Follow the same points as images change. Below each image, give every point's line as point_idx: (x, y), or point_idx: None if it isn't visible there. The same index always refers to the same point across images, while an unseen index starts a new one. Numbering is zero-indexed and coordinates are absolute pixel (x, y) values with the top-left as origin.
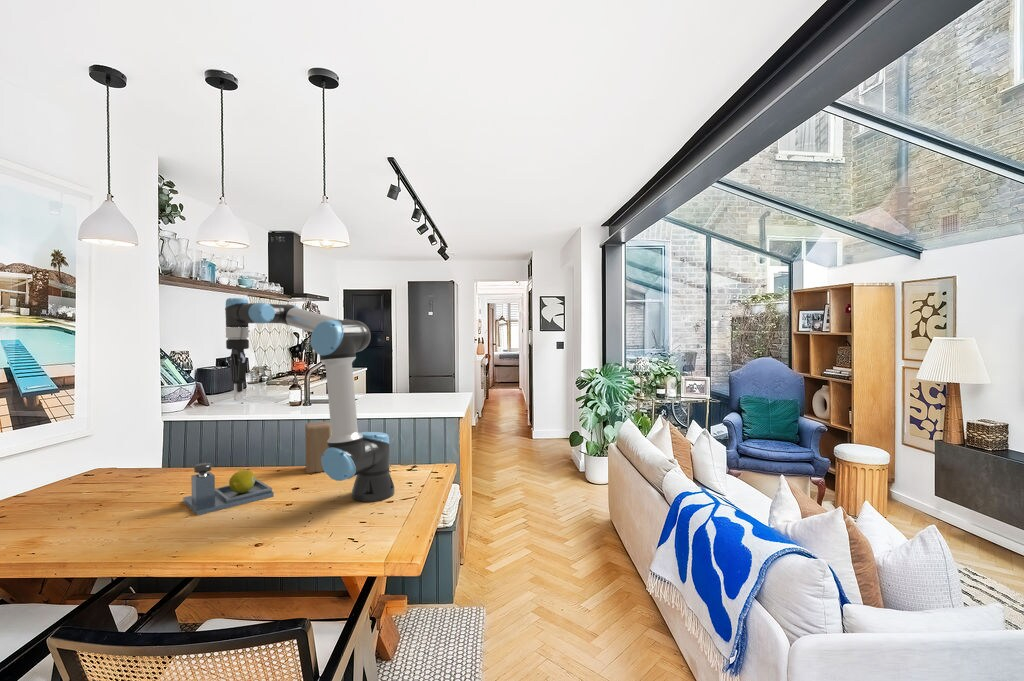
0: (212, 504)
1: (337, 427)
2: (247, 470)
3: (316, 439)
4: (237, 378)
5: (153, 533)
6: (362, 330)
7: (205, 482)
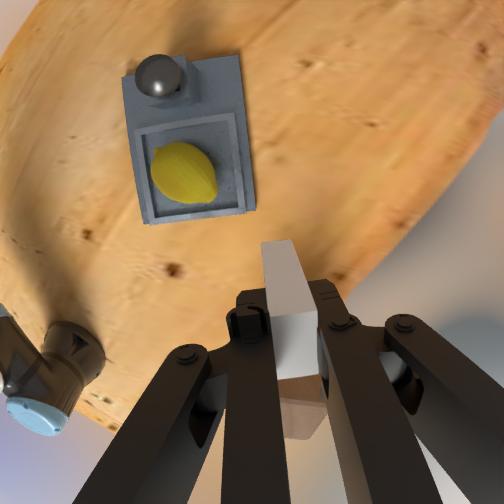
0: (141, 104)
1: None
2: (177, 189)
3: None
4: (193, 376)
5: (89, 23)
6: None
7: None
